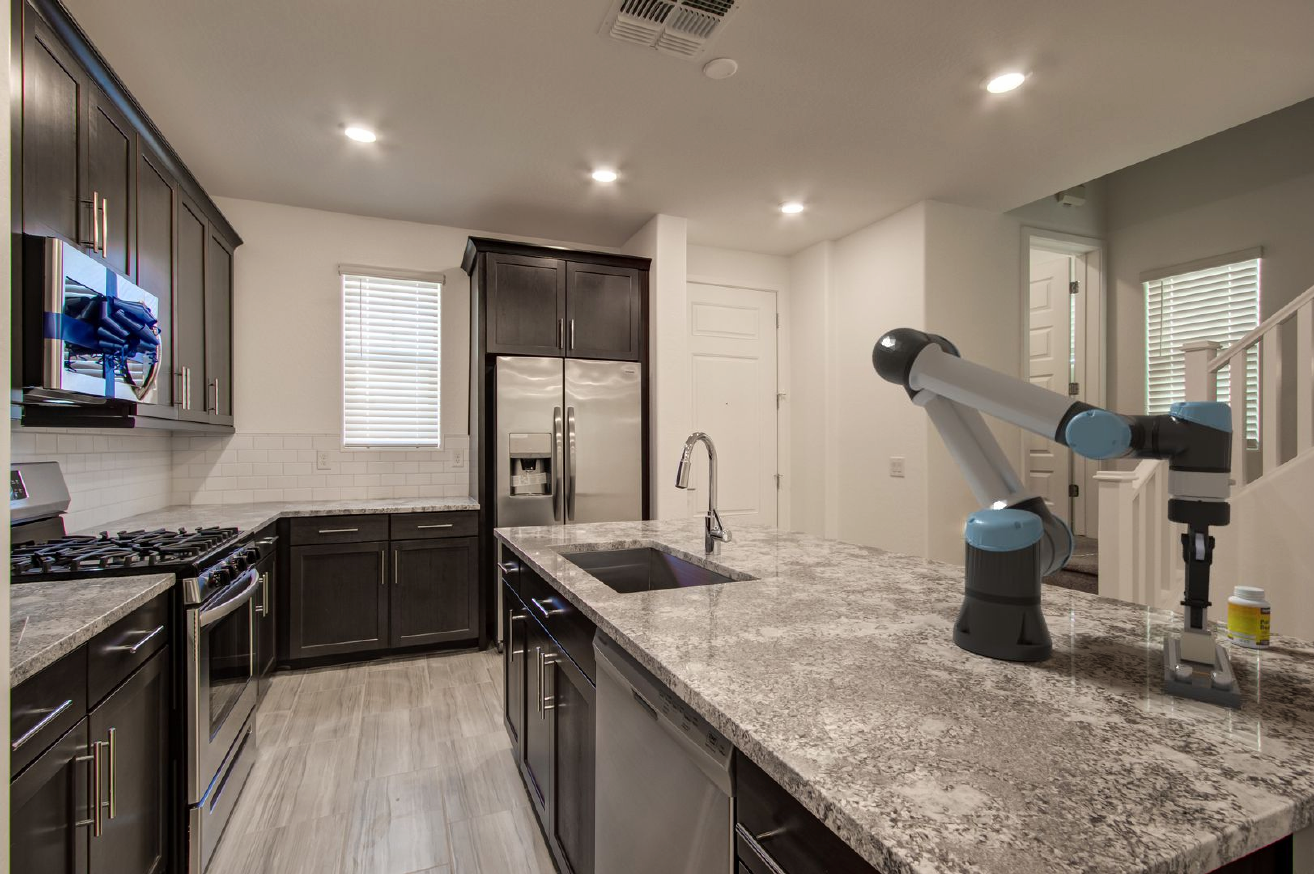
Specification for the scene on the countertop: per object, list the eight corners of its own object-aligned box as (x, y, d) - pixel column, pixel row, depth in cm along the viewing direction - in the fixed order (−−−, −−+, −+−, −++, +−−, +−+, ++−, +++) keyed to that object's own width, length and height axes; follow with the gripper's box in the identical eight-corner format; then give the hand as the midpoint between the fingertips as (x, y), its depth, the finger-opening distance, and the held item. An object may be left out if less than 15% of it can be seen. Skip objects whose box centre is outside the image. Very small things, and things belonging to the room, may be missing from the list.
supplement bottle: (1264, 651, 109) (1265, 593, 109) (1222, 642, 113) (1223, 586, 113) (1273, 646, 112) (1274, 589, 112) (1232, 638, 116) (1233, 583, 117)
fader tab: (1180, 658, 97) (1181, 628, 97) (1180, 653, 100) (1180, 624, 100) (1215, 664, 95) (1215, 634, 95) (1213, 659, 97) (1214, 629, 97)
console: (1164, 693, 89) (1165, 665, 89) (1163, 648, 109) (1163, 625, 109) (1241, 709, 84) (1241, 679, 84) (1224, 659, 104) (1225, 635, 104)
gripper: (1235, 503, 92) (1231, 663, 92) (1225, 498, 102) (1222, 642, 102) (1169, 499, 96) (1165, 652, 96) (1166, 494, 107) (1163, 632, 107)
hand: (1194, 646), depth 99 cm, fingers closed
